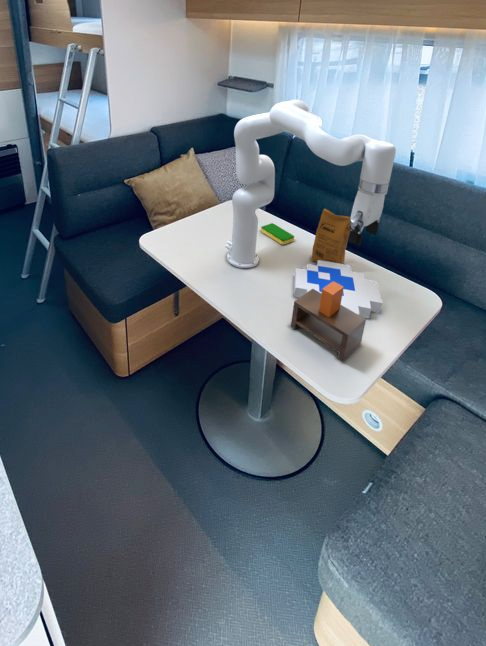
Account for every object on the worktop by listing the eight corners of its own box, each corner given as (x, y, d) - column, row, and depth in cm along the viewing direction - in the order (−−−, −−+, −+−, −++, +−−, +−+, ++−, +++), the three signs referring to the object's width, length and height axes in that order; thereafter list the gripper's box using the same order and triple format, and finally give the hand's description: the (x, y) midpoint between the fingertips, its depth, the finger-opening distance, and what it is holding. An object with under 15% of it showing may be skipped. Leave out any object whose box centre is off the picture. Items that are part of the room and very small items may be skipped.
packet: (318, 311, 122) (322, 288, 119) (329, 302, 126) (333, 281, 123) (328, 317, 119) (333, 295, 117) (339, 308, 123) (344, 286, 120)
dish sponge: (282, 245, 175) (283, 240, 174) (260, 231, 186) (260, 226, 185) (294, 240, 178) (294, 236, 177) (271, 227, 189) (272, 222, 188)
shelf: (290, 326, 129) (294, 301, 126) (308, 313, 135) (312, 288, 132) (342, 362, 117) (348, 335, 113) (360, 345, 123) (366, 319, 119)
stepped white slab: (294, 302, 135) (296, 256, 160) (293, 311, 136) (295, 265, 161) (386, 319, 128) (373, 269, 153) (384, 329, 129) (371, 277, 154)
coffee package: (319, 250, 172) (326, 203, 164) (347, 263, 163) (356, 214, 156) (306, 259, 165) (313, 211, 157) (335, 273, 157) (345, 222, 149)
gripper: (375, 174, 123) (365, 224, 129) (345, 188, 112) (335, 242, 118) (400, 182, 118) (388, 234, 124) (371, 197, 107) (360, 253, 113)
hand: (362, 238), depth 121 cm, fingers open, 9 cm apart
